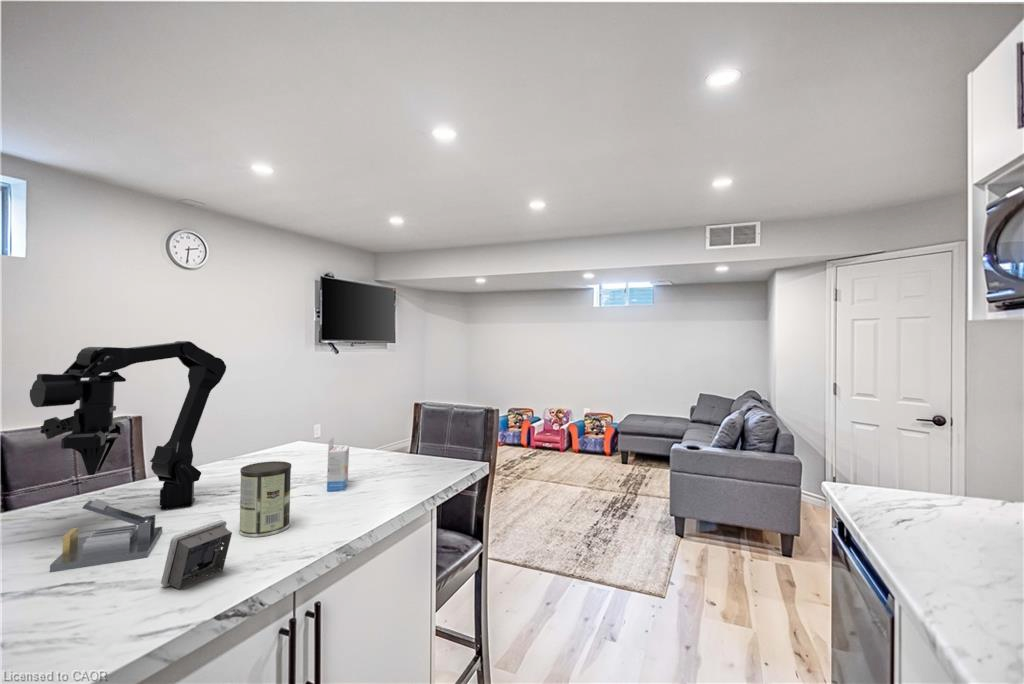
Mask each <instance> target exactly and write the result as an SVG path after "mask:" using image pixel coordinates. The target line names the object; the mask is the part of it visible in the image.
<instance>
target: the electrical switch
mask: <svg viewBox="0 0 1024 684" xmlns="http://www.w3.org/2000/svg"><path fill="white" fill-rule="evenodd" d="M232 534H233V532H232V531H230V530H229V529H228V528H227V522H226V520H223V519H220V520H219V519H218V520H217V521H213V522H210V523H208V524H204V525H202V526H199V527H195V528H193V529H190V530H187V531H184V532H181V533H178V534H175V535H174V536H173V537H172V538H171V539H170V544H169V547H168V552H167V556H166V560H165V564H164V568H163V573H162V574H163V575H162V576H161V582H160V584H161V585H162V587H164V588H168V587H170V586H172V587H174V588H176V589H177V590H179V591H180V590H182V589H184V588H187V587H189V586H191V585H194V584H196V583H199V582H200V581H203V580H205V579H208V578H209V577H212V576H214V575H216V574H218V573H219V574H220V572H222V571H224V566H225V563H226V559H227V554H228V550H229V547H230V543H231V538H232V536H233V535H232ZM196 575H197V576H196Z"/></svg>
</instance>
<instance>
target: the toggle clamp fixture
mask: <svg viewBox="0 0 1024 684" xmlns="http://www.w3.org/2000/svg"><path fill="white" fill-rule="evenodd" d="M144 517H145V518H149V517H150V518H152V519H153V521H152V523H151V522H145V523H139V524H138V525H135V524H130V525H122V526H121V525H119V526H113V527H106V528H105V527H104V528H95V530H94V531H93V532H91V534H89V535H87V536H79V527H75V528H74V527H72V528H70V529H69V531H67V532H66V533H65V534H64V535H63V536H62V549H61V550H62V551H61V552H62V553H61V554H60V555H59V556H58V557H57V558H56V559H54V561H53V562H52V563H51V564H50V565H49V573H51V572H59V571H66V570H71V569H79V568H85V567H92V566H98V565H104V564H105V565H106V564H111V563H119V562H124V561H125V562H126V561H132V560H137V559H138V560H139V559H145V558H148V557H149V555H150V553H151V552H152V551H153V549H154V547H155V545H156V544H157V542H158V540H159V539H160V537H161V535H162V533H163V526H159V527H158V526H157V527H156V514H151V515H150V514H149V515H144Z"/></svg>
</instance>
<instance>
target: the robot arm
mask: <svg viewBox="0 0 1024 684" xmlns="http://www.w3.org/2000/svg"><path fill="white" fill-rule="evenodd" d="M173 358H177V359H178V360H179V361H180V363H181V364H182V365H183V366H184V367H186V368H188V374H187V378H188V379H187V380H188V385H189V387H188V391H187V393H186V397H184V401H183V403H182V407H181V409H180V411H179V414H178V417H177V420H176V421H175V424H174V428H173V430H172V433H171V435H170V438H169V440H168V441H167V442H166V443H165V444H164V445H157V446H156V447H155V449H154V454H153V456H152V458H151V460H149V462H150V463H151V470H152V472H153V474H155V475H156V476H157V478H158V481H159V482H163V483H162V487H161V488H160V490H159V506H160V511H163V510H170V509H171V510H172V509H173V510H174V509H179V508H189V507H192V506H193V504H194V502H195V501H196V497H195V496H194V494H195V483H196V482H199V481H200V478H201V476H202V472H201V471H200V470H199V469H198V468H197V467H195V466H194V465H193V459H194V452H193V451H194V450H193V446H192V445H193V444H192V443H193V441H194V438H195V435H196V432H197V430H198V429H197V428H198V426H199V424H200V422H201V418H202V416H203V412H204V409H205V407H206V405H207V402H208V399H209V396H210V394H211V392H212V391H213V389H215V387H217V385H218V384H219V383H220V382H221V380H222V379H223V377H224V375H225V373H226V370H227V364H226V363H225V361H224V360H223V359H222V358H220V357H216V356H215V355H213V353H210V352H208V351H206V350H205V349H202V348H201V347H198V346H197V345H196V343H193V342H192V341H190V340H189V341H188V340H182V341H180V340H177V341H174V342H166V343H160V344H159V343H158V344H150V345H139V346H133V347H115V346H114V347H111V346H87V347H84V348H82V349H81V350H80V351H79V352H78V353H77V355H76V360H75V361H73V363H72V364H71V365H70V366H69V367H68V368H67V369H66V370H64V372H63V373H61V374H55V373H54V374H52V373H37V375H36V380H35V381H34V382H33V384H32V386H31V389H29V398H30V399H29V400H30V403H31V404H32V406H33V407H34V408H45V407H47V408H48V407H61V406H62V407H63V406H69V405H70V406H72V405H74V404H76V402H77V401H79V402H78V403H79V404H78V408H76V409H75V410H73V415H72V416H69V417H65V418H63V419H60V418H59V417H57V416H54V417H51V418H48V419H45V420H43V425H41V426H40V429H41V430H40V431H39V433H41V434H43V435H45V438H46V439H47V440H51V439H54V438H55V437H57V436H61V435H63V434H66V433H69V432H71V433H69V434H67V435H65V436H64V437H63V438H61V445H60V448H61V449H62V450H64V449H65V450H67V449H72V450H74V451H76V452H78V453H79V454H80V456H81V458H82V461H83V464H84V468H85V470H86V473H87V475H88V476H94V475H96V473H97V472H100V471H101V470H102V467H103V466H104V465H105V462H106V461H107V458H108V457H109V456H110V453H111V451H112V450H113V448H114V446H115V445H116V443H117V441H118V440H119V436H121V435H123V434H125V424H124V423H122V422H120V421H114V412H115V411H117V405H114V403H115V402H114V400H115V399H114V398H115V383H121V382H122V383H123V382H126V381H127V379H126V377H123V376H122V375H121V374H120V373H119V372H118V370H123V369H125V368H127V367H129V366H131V365H134V364H139V363H140V364H141V363H146V362H152V361H158V360H159V361H160V360H166V359H173ZM105 373H106V374H105ZM112 434H117V436H113V437H112V436H111V435H112Z"/></svg>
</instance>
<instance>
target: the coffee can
mask: <svg viewBox="0 0 1024 684" xmlns="http://www.w3.org/2000/svg"><path fill="white" fill-rule="evenodd" d="M291 463H292V462H291ZM291 463H290V462H288V461H280V460H279V461H277V460H275V461H274V460H273V461H261V462H256V463H251V464H247V465H244V466H242V467H241V468H240V494H239V495H240V497H239V499H240V500H239V501H240V503H239V530H238V532H239V535H241V536H243V537H249V538H262V537H267V536H273V535H276V534H279V533H282V532H284V531H285V530H287V529H289V527H290V525H291V522H290V520H291V519H290V512H291V511H290V510H291V509H290V508H291V507H290V506H291V473H292V471H291V469H292V464H291Z"/></svg>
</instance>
